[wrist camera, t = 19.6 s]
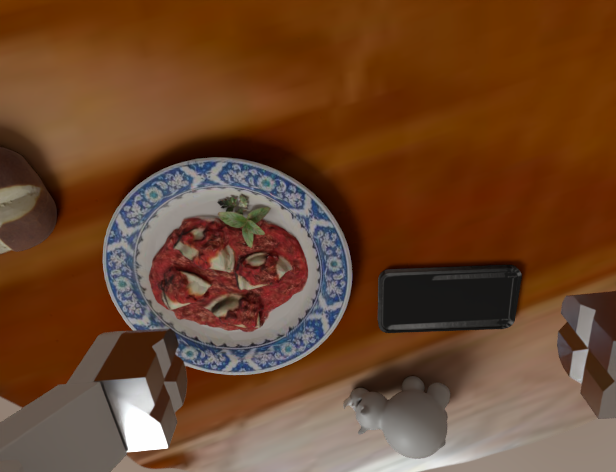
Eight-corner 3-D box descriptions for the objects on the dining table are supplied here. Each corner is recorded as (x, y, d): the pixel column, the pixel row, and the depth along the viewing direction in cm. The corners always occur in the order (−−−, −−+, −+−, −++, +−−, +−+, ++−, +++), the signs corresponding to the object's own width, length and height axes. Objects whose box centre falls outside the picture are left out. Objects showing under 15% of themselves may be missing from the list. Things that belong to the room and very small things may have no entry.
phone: (513, 328, 54) (378, 333, 55) (509, 322, 55) (377, 327, 56) (523, 266, 51) (379, 272, 51) (519, 261, 52) (378, 267, 52)
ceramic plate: (273, 394, 60) (272, 412, 57) (75, 298, 54) (62, 314, 52) (399, 235, 50) (404, 248, 48) (174, 99, 45) (165, 105, 42)
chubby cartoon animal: (358, 352, 60) (335, 397, 53) (458, 380, 56) (447, 433, 49) (354, 397, 63) (331, 445, 56) (448, 427, 59) (437, 483, 52)
